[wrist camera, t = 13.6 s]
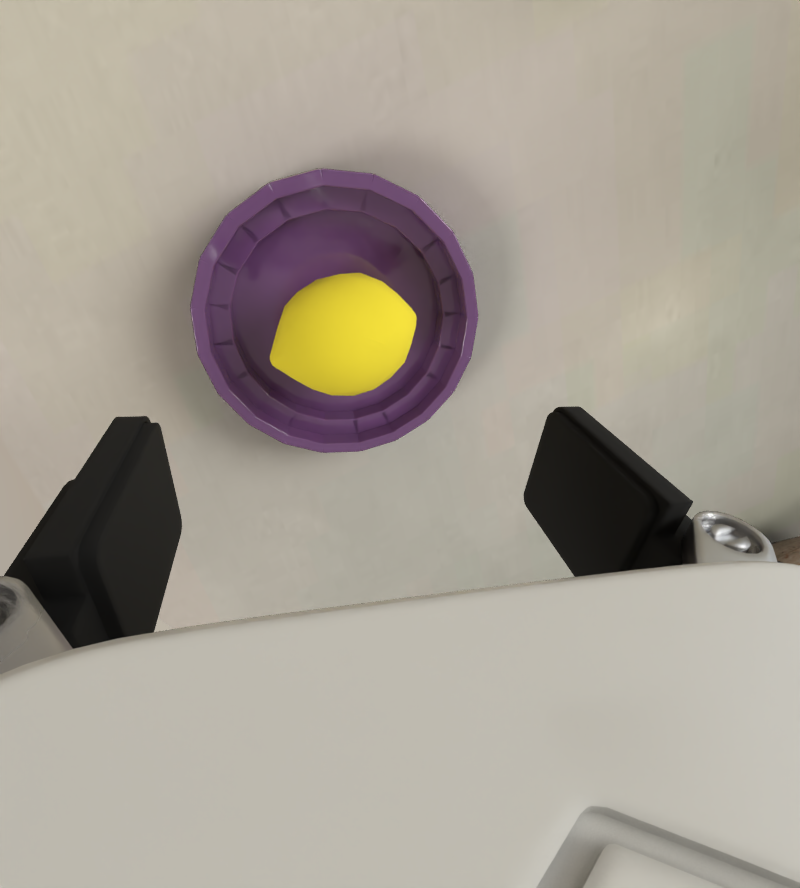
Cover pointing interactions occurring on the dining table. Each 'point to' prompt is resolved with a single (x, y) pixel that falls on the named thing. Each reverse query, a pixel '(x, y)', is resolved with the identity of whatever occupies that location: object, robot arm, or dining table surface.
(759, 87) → the dining table surface
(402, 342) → the lemon
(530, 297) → the dining table surface
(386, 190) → the dish
